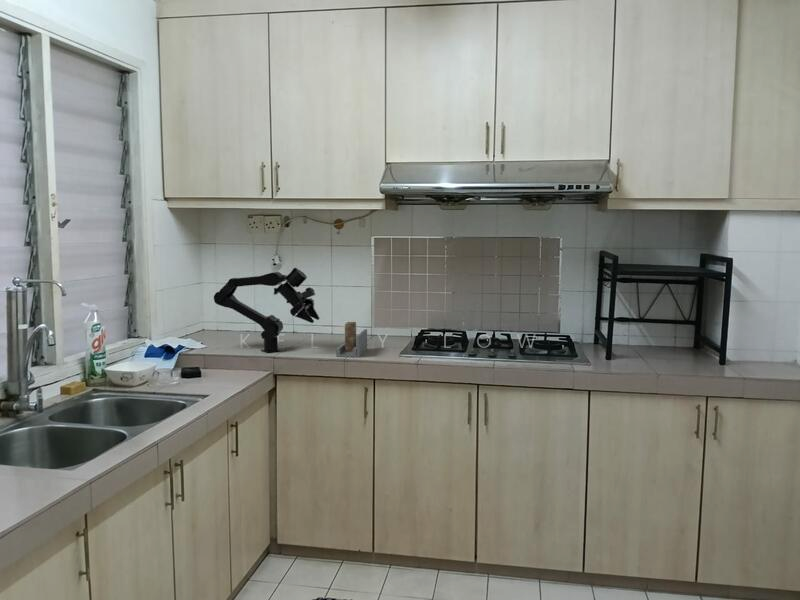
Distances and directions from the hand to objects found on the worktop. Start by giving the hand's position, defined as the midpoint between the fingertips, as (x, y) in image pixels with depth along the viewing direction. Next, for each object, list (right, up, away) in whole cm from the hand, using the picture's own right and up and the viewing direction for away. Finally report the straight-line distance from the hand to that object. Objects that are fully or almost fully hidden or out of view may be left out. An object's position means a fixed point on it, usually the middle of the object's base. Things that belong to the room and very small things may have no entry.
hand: (316, 320), depth 275 cm
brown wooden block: (+15, -13, 0) cm, 20 cm away
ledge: (+15, -14, 0) cm, 20 cm away
